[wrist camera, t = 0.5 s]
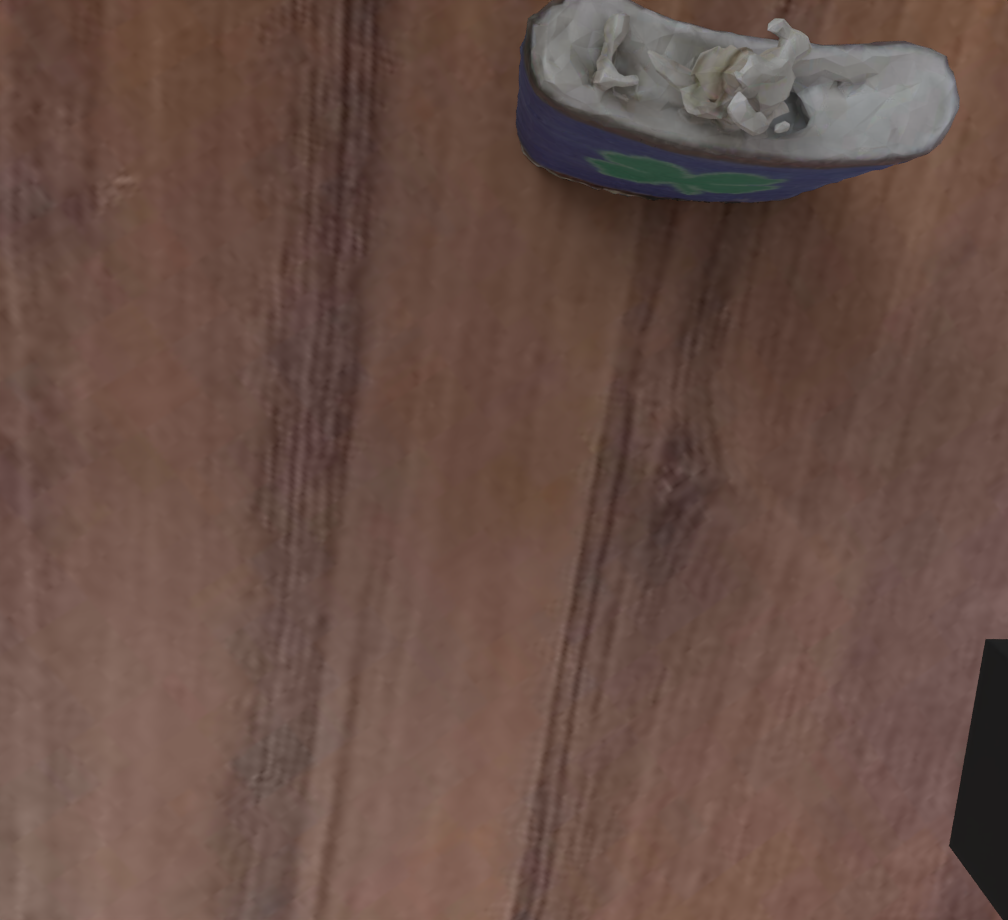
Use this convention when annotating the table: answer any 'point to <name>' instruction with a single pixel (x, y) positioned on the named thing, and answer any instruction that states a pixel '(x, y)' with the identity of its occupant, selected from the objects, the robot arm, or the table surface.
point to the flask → (718, 105)
